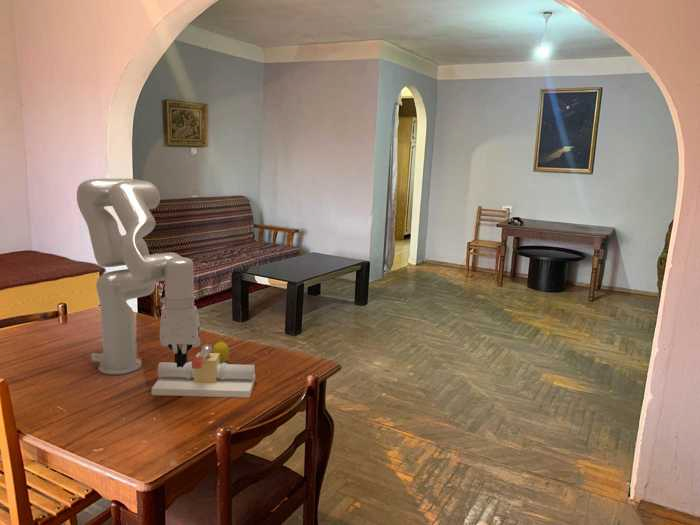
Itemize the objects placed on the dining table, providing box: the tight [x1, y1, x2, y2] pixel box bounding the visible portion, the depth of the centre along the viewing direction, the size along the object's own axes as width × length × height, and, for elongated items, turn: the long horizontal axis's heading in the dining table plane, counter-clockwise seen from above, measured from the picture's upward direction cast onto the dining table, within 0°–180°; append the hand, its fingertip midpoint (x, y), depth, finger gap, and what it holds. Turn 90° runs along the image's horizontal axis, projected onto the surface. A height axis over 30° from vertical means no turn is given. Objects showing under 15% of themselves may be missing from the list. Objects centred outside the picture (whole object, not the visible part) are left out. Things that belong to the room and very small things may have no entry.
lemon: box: [211, 341, 230, 364], centre depth 178 cm, size 6×6×8 cm
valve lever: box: [191, 344, 213, 369], centre depth 155 cm, size 14×3×2 cm, turn 2°
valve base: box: [151, 352, 256, 399], centre depth 160 cm, size 28×12×10 cm, turn 92°
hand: (181, 365), depth 151 cm, fingers closed
